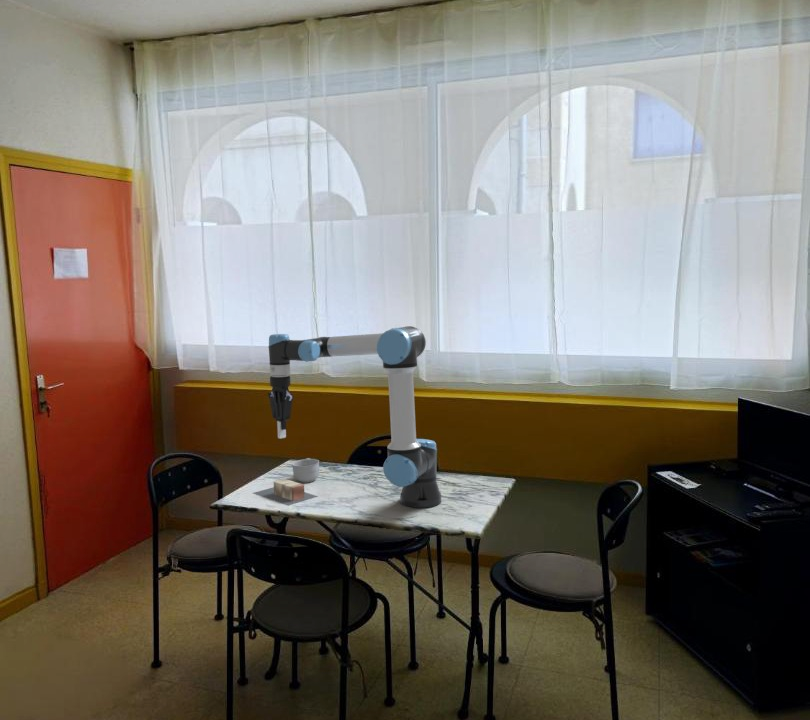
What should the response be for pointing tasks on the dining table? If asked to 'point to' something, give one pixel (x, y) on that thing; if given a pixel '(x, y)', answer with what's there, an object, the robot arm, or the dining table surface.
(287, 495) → the block
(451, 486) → the dining table surface
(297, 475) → the teacup
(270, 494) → the mat
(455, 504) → the dining table surface
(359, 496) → the dining table surface
